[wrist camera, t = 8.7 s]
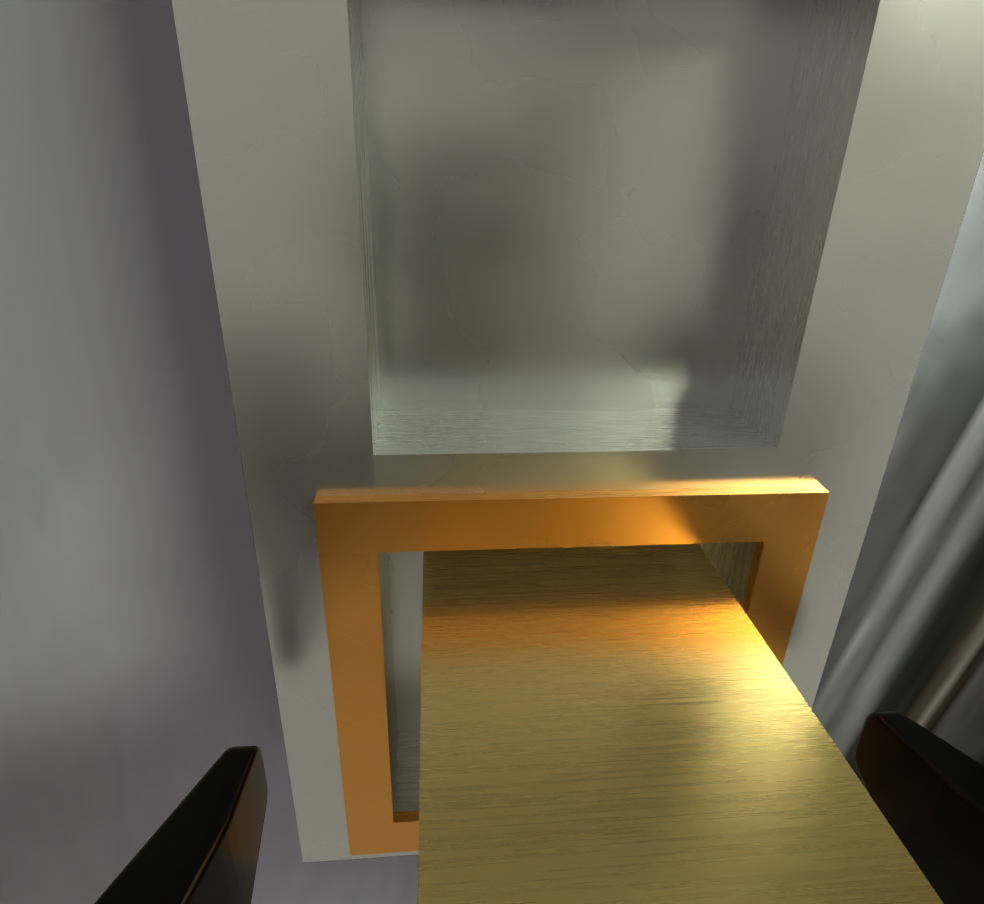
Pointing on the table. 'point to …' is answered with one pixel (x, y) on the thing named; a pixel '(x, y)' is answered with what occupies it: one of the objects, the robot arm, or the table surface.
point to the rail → (560, 311)
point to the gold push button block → (627, 744)
